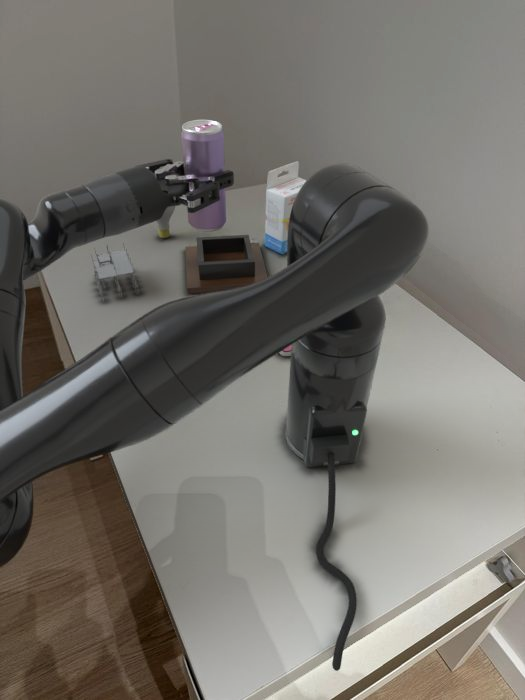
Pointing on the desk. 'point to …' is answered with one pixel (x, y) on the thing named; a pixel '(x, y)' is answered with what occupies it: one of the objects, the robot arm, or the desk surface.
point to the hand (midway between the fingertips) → (217, 170)
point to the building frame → (113, 268)
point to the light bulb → (165, 222)
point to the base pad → (223, 263)
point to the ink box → (280, 205)
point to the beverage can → (204, 168)
